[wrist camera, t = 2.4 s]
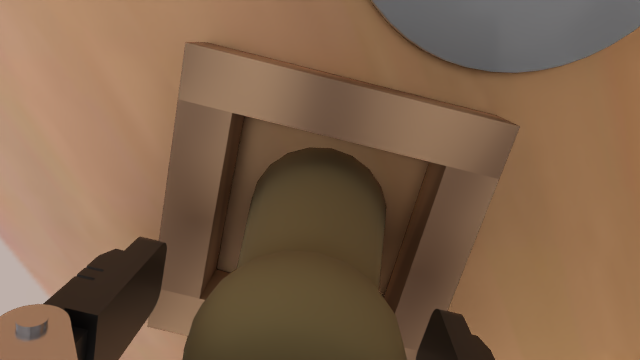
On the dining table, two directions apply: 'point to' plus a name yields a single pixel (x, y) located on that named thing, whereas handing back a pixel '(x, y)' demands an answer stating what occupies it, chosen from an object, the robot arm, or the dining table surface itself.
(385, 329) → the cork
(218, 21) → the dining table surface
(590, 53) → the slate coaster
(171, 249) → the holder board
